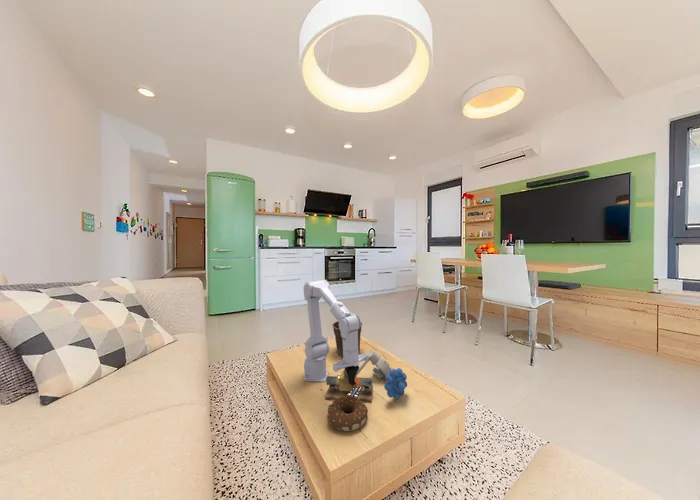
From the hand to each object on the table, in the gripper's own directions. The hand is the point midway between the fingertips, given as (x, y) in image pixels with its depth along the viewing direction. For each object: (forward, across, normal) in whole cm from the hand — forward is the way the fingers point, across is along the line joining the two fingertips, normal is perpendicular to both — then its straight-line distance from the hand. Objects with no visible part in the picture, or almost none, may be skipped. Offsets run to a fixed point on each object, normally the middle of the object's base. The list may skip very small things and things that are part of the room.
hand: (351, 384), depth 93 cm
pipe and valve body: (+7, +3, +6) cm, 10 cm away
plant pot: (+8, +22, +36) cm, 43 cm away
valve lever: (0, +2, +2) cm, 3 cm away
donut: (+8, -6, -5) cm, 11 cm away
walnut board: (+8, +3, +6) cm, 10 cm away
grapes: (+8, +16, -8) cm, 19 cm away
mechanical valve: (+8, +15, +9) cm, 19 cm away
